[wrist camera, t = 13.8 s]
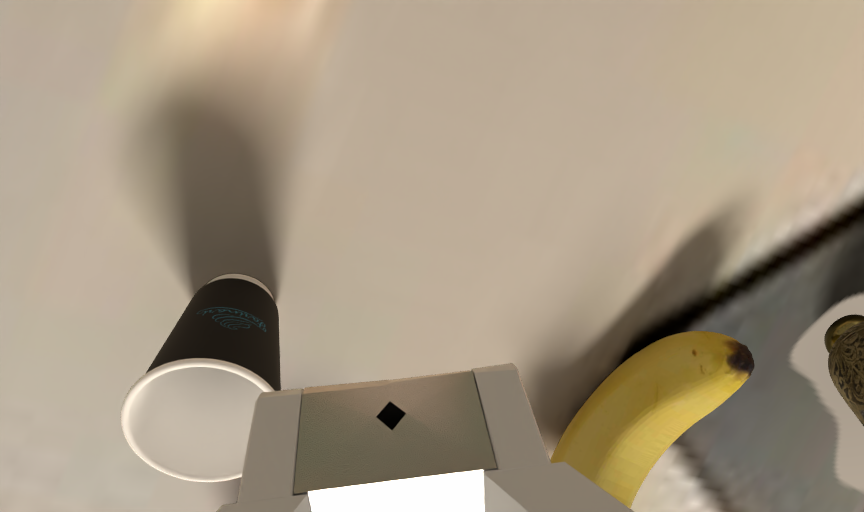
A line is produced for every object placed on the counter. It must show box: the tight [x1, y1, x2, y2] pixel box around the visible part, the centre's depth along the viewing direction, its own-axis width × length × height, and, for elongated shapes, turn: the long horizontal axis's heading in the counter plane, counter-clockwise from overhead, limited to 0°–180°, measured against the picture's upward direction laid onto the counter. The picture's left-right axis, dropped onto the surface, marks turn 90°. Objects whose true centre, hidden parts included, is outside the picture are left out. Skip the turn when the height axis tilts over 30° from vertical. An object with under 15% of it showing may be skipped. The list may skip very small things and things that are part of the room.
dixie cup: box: [121, 274, 281, 482], centre depth 38 cm, size 8×8×11 cm
